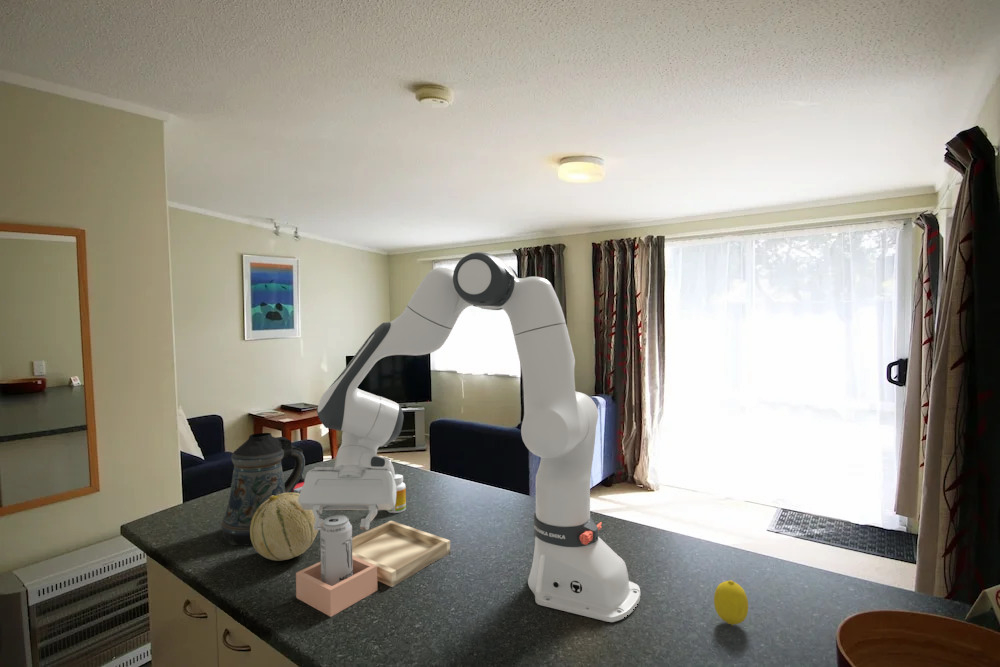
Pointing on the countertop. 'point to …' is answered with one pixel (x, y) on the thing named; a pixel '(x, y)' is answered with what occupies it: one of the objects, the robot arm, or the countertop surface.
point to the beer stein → (257, 481)
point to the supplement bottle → (399, 495)
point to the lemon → (731, 602)
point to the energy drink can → (336, 549)
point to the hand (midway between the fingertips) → (341, 529)
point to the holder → (336, 587)
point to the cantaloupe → (282, 527)
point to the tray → (398, 550)
